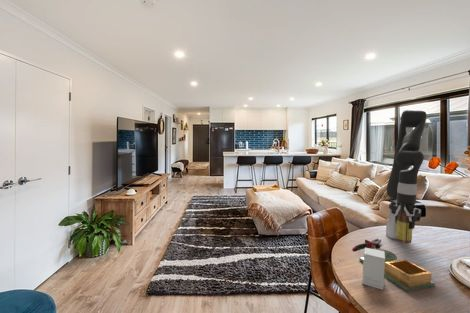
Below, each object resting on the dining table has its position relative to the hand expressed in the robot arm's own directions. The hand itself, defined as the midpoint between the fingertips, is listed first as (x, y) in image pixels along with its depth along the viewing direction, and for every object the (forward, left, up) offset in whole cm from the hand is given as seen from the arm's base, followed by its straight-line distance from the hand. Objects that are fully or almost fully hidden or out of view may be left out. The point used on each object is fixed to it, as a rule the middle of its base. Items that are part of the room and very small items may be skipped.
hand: (404, 226), depth 114 cm
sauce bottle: (0, 0, -8) cm, 8 cm away
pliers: (-14, -6, -17) cm, 23 cm away
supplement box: (+12, -30, -17) cm, 36 cm away
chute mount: (+8, -15, -17) cm, 24 cm away
